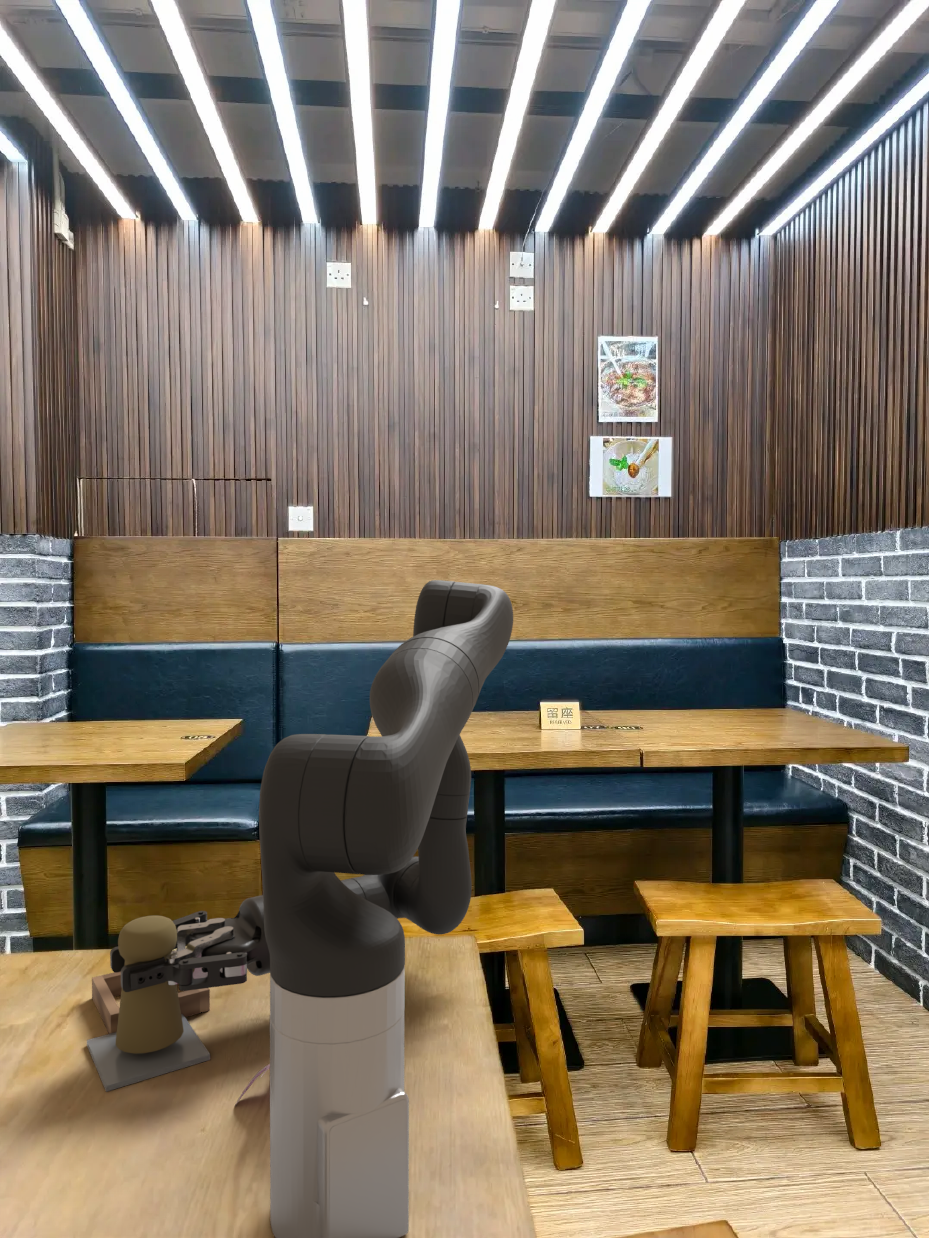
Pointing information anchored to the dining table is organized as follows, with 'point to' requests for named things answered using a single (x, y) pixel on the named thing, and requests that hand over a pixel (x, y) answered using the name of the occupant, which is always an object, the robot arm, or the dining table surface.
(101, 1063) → the plate
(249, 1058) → the dining table surface
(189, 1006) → the caddy
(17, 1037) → the dining table surface
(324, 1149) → the robot arm
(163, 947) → the cork
